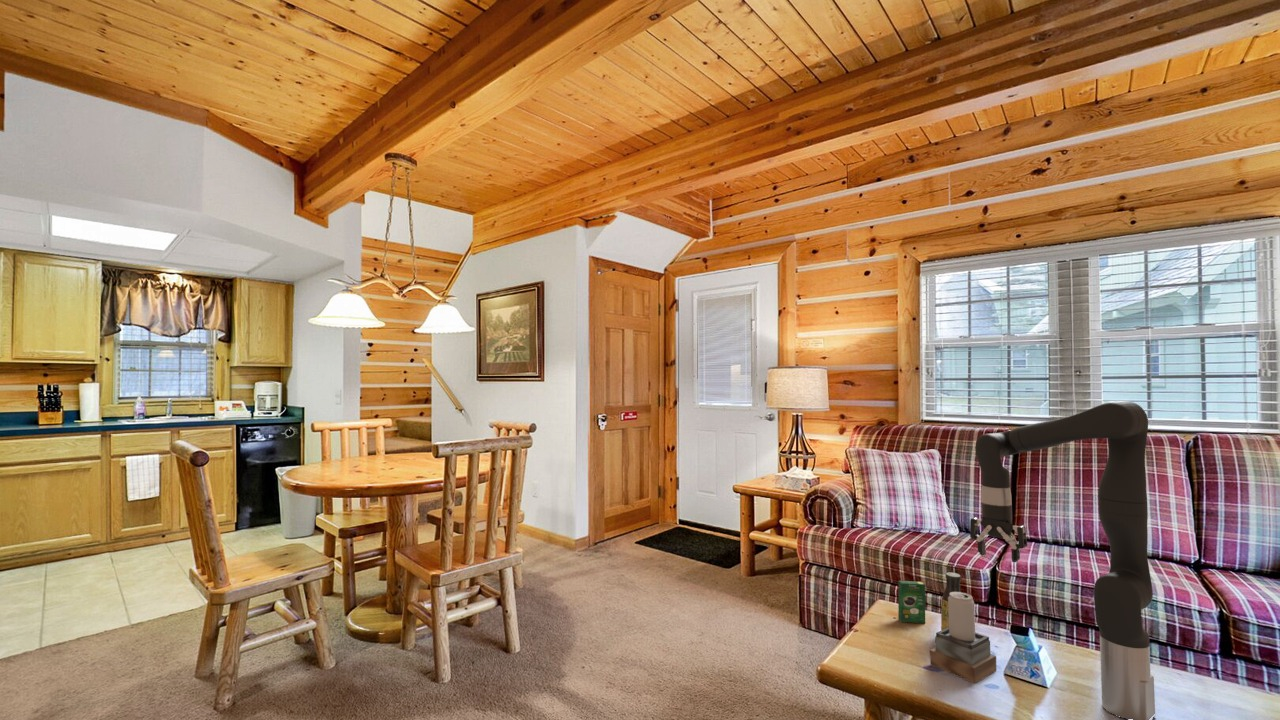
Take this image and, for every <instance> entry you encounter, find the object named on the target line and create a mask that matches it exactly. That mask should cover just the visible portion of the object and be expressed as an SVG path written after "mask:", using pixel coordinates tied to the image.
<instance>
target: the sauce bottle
mask: <svg viewBox="0 0 1280 720" xmlns="http://www.w3.org/2000/svg"><path fill="white" fill-rule="evenodd" d="M945 579H946V580H945V581H946V583H945V585H946V586H945V589H944V591H943V595H942V597H941V611H940V613H941V614H940V615H941V618H940V619H941V620H940V622H941V623H940V624H941V625H940V626H941V627H940V631H941V630H943V629H946V628H948V627H949V609H948V597H949V596H950V593H951V592H962V591H961V585H960V584H961V582H960V581H961V575H960V574H959V573H957V572H946V573H945Z"/></svg>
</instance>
